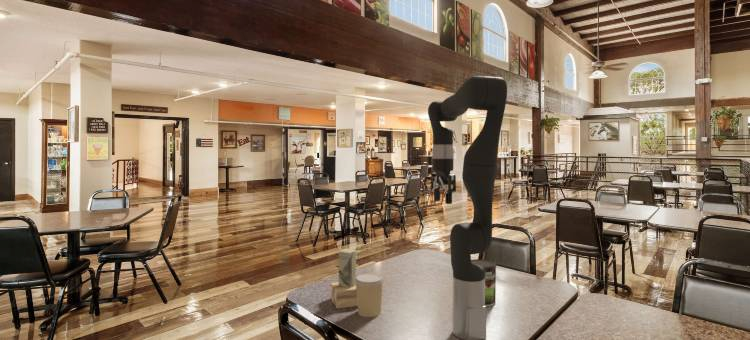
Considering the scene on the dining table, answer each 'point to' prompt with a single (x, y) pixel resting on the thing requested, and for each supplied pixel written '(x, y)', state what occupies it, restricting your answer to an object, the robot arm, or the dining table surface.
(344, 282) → the box
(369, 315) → the coffee cup
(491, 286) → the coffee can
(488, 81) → the robot arm
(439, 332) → the dining table surface
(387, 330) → the dining table surface
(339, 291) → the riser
